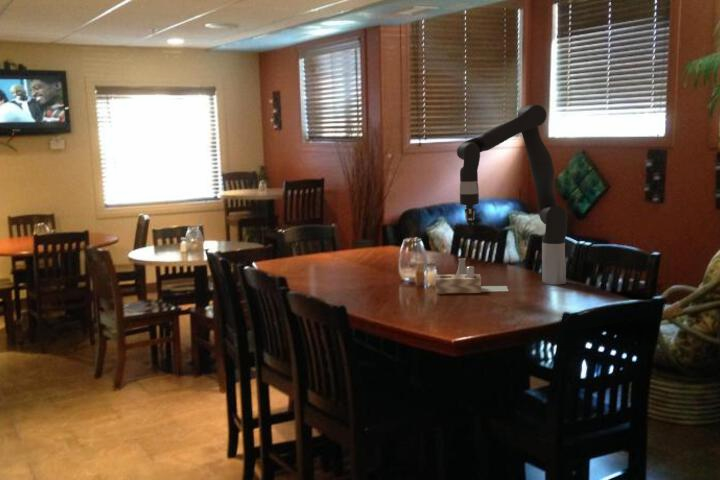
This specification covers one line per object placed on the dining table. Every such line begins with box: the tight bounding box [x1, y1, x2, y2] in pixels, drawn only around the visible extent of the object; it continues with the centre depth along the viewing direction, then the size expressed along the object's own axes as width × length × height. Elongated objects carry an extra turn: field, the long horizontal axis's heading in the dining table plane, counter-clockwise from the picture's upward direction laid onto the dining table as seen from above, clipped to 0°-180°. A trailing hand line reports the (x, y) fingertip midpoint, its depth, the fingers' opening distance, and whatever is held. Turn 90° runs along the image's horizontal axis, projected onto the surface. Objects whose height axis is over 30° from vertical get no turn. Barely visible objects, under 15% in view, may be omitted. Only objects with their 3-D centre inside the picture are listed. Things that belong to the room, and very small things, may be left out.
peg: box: [466, 265, 475, 278], centre depth 292 cm, size 3×3×10 cm
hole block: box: [435, 273, 482, 295], centre depth 293 cm, size 18×10×6 cm, turn 83°
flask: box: [456, 257, 467, 274], centre depth 312 cm, size 7×7×10 cm
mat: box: [481, 285, 509, 293], centre depth 294 cm, size 12×10×1 cm
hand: (470, 232), depth 290 cm, fingers open, 8 cm apart
